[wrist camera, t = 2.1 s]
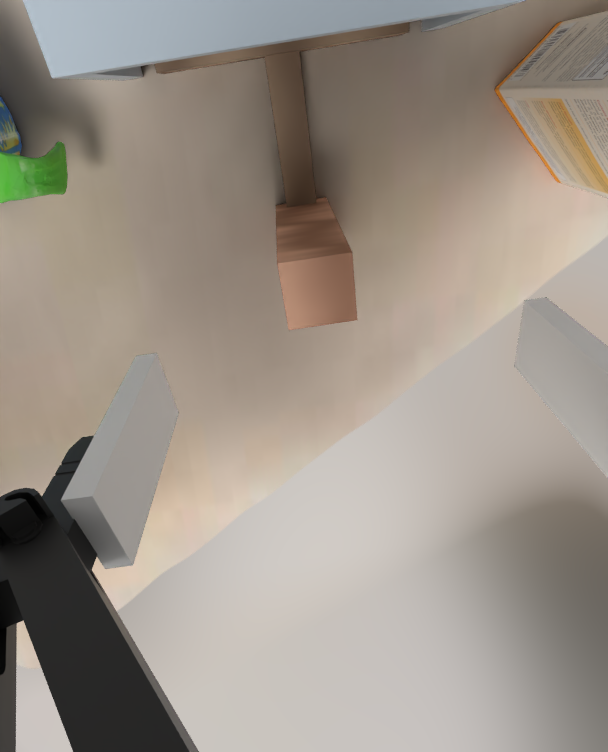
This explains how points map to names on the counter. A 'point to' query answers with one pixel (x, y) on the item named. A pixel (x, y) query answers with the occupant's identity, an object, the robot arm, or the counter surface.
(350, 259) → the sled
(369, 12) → the tunnel
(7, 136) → the snack cup
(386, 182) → the counter surface
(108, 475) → the robot arm
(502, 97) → the supplement box
